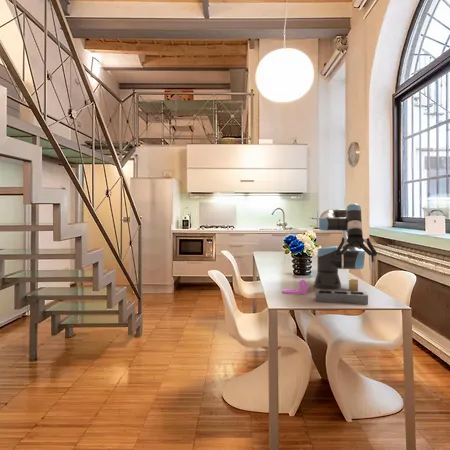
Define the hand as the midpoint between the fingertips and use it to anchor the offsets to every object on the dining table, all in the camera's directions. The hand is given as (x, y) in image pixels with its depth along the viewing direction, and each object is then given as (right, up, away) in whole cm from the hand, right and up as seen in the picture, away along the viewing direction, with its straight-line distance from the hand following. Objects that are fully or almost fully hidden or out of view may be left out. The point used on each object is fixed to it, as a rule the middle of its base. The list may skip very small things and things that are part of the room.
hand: (356, 267), depth 200 cm
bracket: (-29, -15, +13) cm, 35 cm away
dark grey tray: (-10, -15, -6) cm, 19 cm away
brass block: (0, -15, +4) cm, 16 cm away
